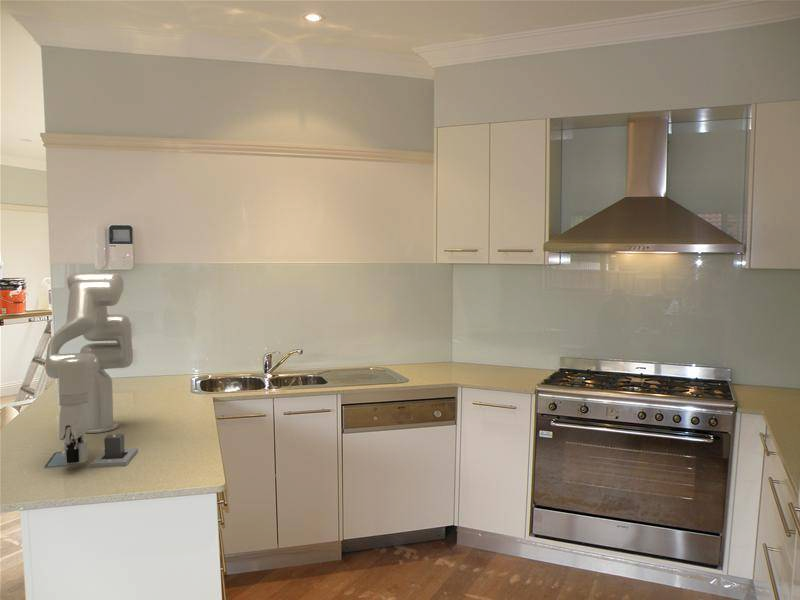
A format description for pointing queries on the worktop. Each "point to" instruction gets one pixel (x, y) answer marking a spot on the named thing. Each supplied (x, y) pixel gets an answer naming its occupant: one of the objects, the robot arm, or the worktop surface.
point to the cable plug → (82, 452)
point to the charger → (114, 446)
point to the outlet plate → (103, 462)
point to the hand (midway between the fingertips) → (75, 459)
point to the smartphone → (57, 461)
